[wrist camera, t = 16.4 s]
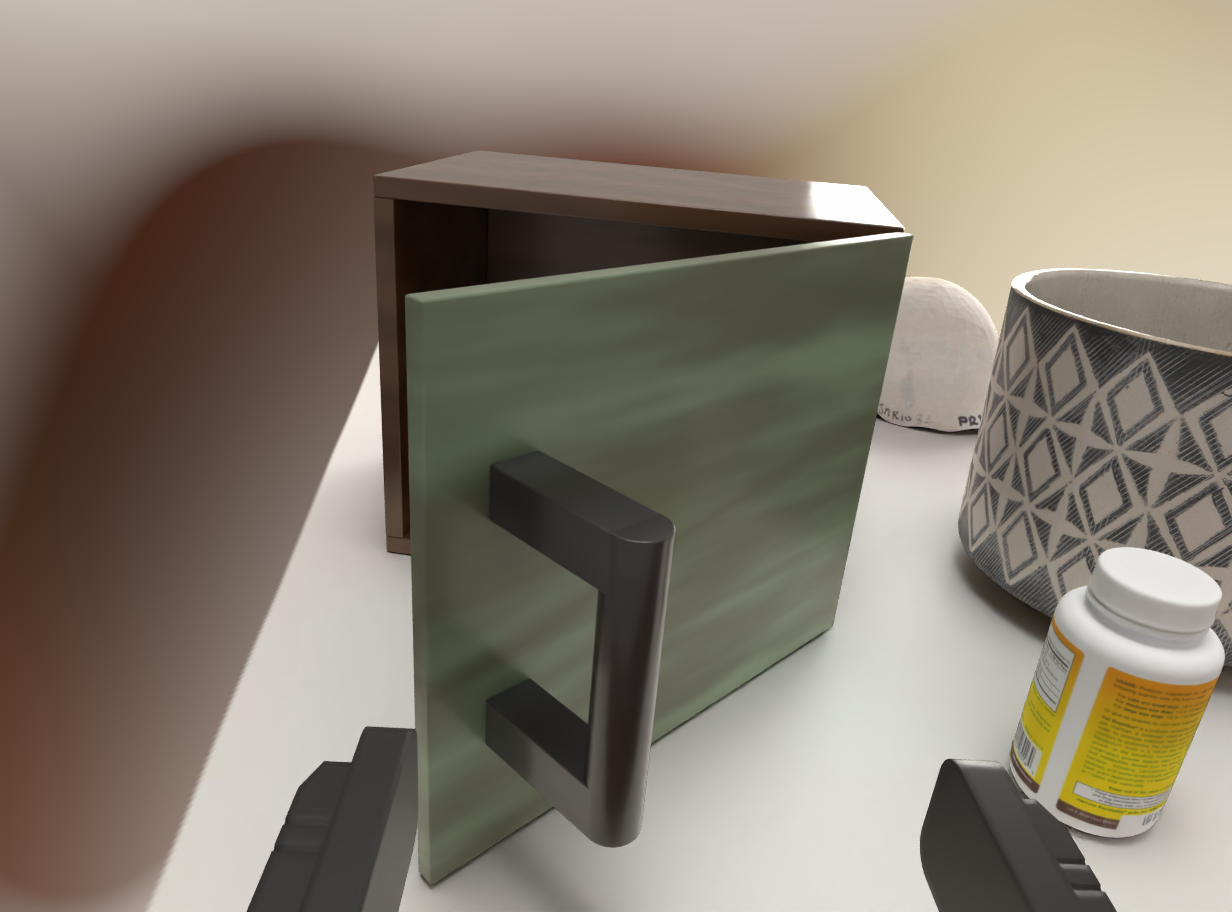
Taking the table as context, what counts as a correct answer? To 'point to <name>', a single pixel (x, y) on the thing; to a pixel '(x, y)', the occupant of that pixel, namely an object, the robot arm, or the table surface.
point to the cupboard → (566, 242)
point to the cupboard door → (624, 514)
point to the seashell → (938, 358)
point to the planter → (1104, 433)
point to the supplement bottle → (1119, 692)
